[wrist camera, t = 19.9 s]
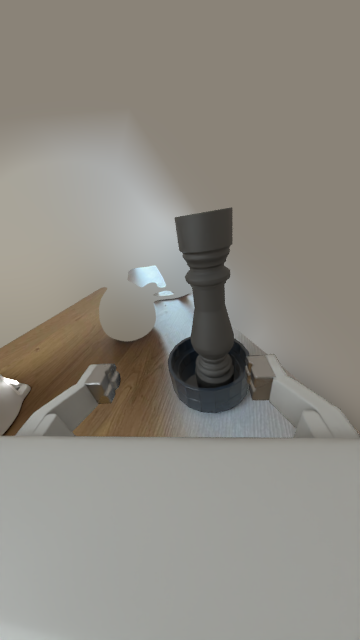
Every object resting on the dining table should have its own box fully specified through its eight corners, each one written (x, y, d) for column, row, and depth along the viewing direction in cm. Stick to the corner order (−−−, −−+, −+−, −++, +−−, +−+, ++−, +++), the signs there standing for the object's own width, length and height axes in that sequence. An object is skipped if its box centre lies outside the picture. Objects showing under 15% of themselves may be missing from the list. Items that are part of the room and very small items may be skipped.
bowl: (160, 398, 30) (152, 376, 27) (190, 349, 39) (187, 329, 36) (240, 429, 24) (241, 404, 21) (253, 362, 33) (255, 339, 30)
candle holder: (237, 372, 31) (240, 205, 18) (230, 403, 26) (228, 208, 14) (203, 365, 34) (186, 215, 21) (191, 392, 29) (160, 220, 16)
